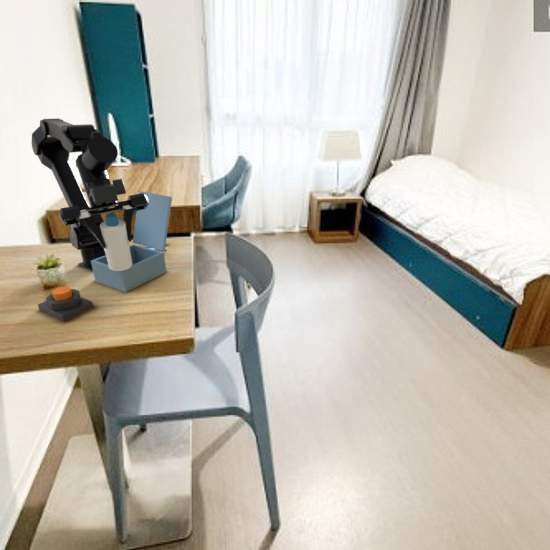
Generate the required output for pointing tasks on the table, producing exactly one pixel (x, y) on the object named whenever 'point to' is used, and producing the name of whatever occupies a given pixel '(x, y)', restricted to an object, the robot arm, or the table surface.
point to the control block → (65, 306)
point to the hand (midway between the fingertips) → (117, 244)
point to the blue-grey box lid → (153, 222)
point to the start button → (62, 293)
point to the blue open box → (131, 269)
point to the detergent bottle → (116, 243)
